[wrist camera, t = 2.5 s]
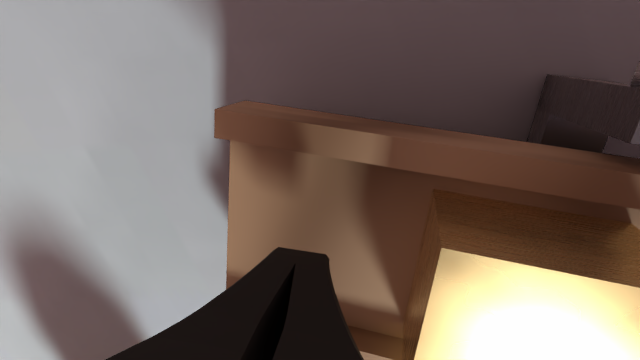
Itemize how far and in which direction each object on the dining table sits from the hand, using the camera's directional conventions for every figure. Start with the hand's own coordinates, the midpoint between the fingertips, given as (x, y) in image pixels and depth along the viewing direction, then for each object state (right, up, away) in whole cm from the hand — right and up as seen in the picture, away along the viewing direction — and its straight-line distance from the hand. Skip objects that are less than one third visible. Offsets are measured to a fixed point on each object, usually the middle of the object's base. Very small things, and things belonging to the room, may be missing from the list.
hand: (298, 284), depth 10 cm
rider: (+6, 0, +1) cm, 6 cm away
